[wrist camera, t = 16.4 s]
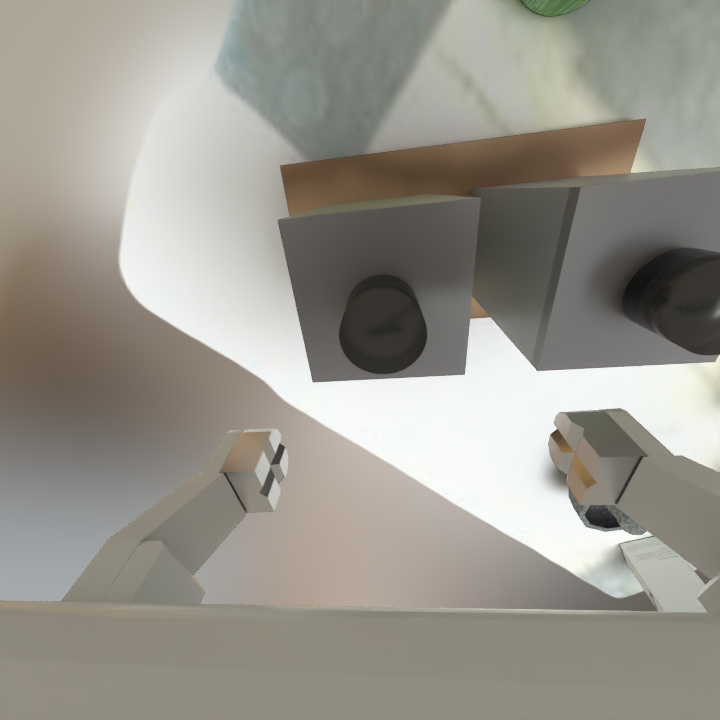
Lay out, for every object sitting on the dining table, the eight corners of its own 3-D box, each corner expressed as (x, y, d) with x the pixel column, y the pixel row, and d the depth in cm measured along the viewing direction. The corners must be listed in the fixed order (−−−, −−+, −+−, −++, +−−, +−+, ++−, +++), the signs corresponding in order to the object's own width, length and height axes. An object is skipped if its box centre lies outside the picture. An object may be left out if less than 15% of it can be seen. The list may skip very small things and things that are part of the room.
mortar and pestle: (630, 474, 45) (705, 559, 35) (567, 495, 48) (618, 579, 38) (608, 429, 41) (686, 510, 30) (541, 455, 44) (590, 537, 34)
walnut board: (284, 166, 27) (279, 165, 26) (632, 122, 24) (646, 118, 23) (314, 324, 35) (312, 329, 34) (580, 305, 32) (588, 310, 31)
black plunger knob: (338, 213, 27) (273, 251, 11) (419, 205, 26) (486, 230, 10) (347, 292, 31) (310, 411, 14) (419, 286, 30) (468, 404, 13)
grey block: (472, 188, 26) (580, 186, 12) (580, 176, 25) (832, 159, 11) (465, 287, 31) (537, 370, 17) (556, 280, 30) (715, 361, 16)
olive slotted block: (329, 204, 27) (277, 220, 13) (427, 193, 27) (480, 197, 13) (342, 297, 32) (312, 382, 18) (426, 290, 31) (464, 374, 17)
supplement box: (617, 543, 54) (677, 632, 43) (664, 533, 52) (740, 625, 41) (624, 562, 57) (682, 650, 46) (669, 553, 55) (741, 644, 44)
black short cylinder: (484, 198, 26) (667, 212, 9) (573, 188, 25) (944, 184, 9) (475, 281, 29) (597, 397, 13) (554, 275, 29) (787, 389, 12)
